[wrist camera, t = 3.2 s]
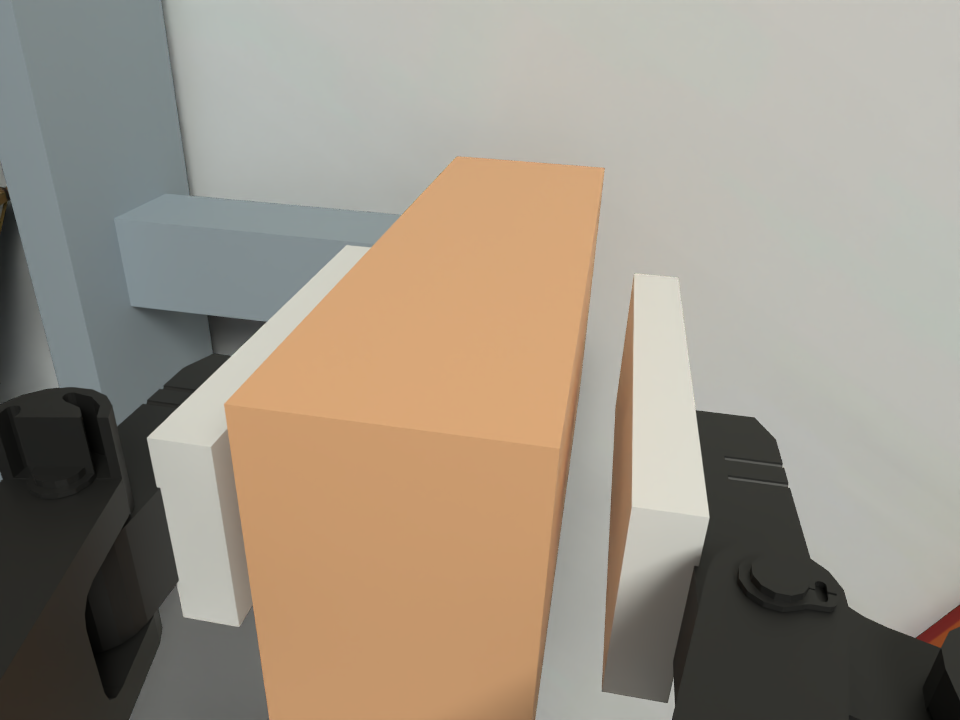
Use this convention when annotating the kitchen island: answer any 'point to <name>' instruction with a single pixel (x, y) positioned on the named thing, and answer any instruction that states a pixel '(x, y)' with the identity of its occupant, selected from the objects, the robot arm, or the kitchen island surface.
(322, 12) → the kitchen island surface
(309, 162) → the kitchen island surface
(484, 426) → the grey tray orange handle
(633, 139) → the kitchen island surface
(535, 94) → the kitchen island surface
